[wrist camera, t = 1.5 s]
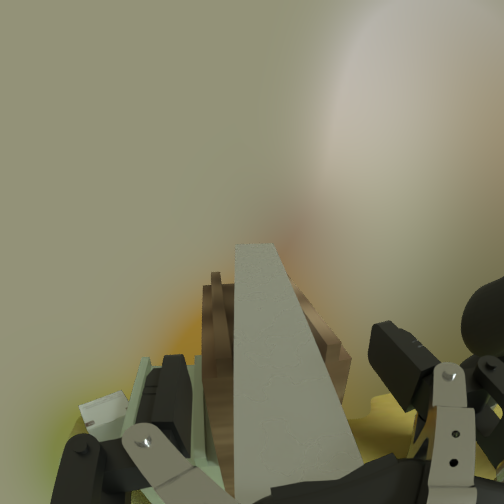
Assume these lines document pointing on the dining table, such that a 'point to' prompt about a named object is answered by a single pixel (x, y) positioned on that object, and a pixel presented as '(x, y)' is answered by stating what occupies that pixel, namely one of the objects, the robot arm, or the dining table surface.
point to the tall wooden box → (222, 364)
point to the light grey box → (200, 428)
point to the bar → (281, 386)
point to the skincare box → (105, 416)
